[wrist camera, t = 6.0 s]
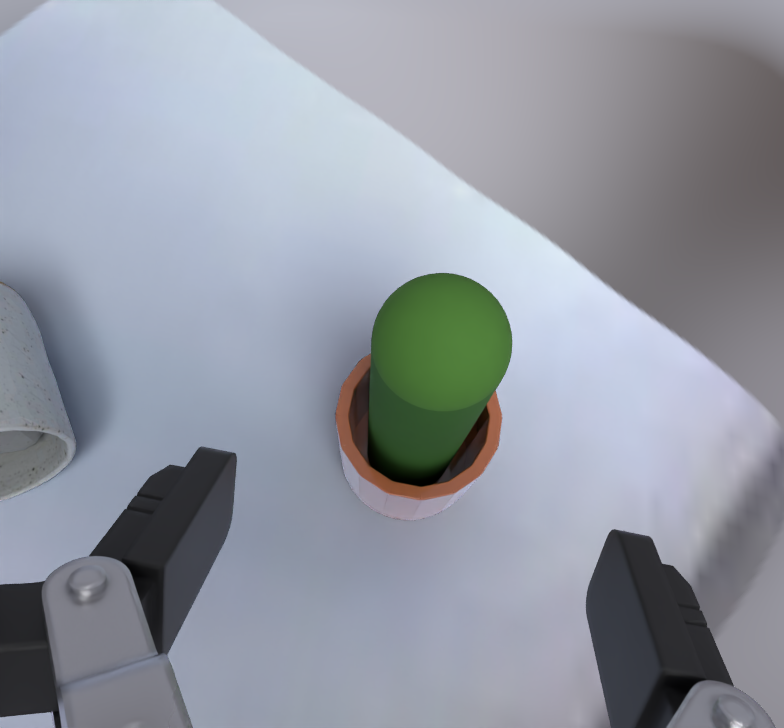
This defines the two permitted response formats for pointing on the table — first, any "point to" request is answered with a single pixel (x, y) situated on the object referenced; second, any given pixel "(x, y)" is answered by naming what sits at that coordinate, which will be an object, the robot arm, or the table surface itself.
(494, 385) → the cucumber
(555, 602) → the table surface
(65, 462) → the ceramic mug
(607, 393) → the table surface
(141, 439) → the table surface
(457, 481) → the cup
